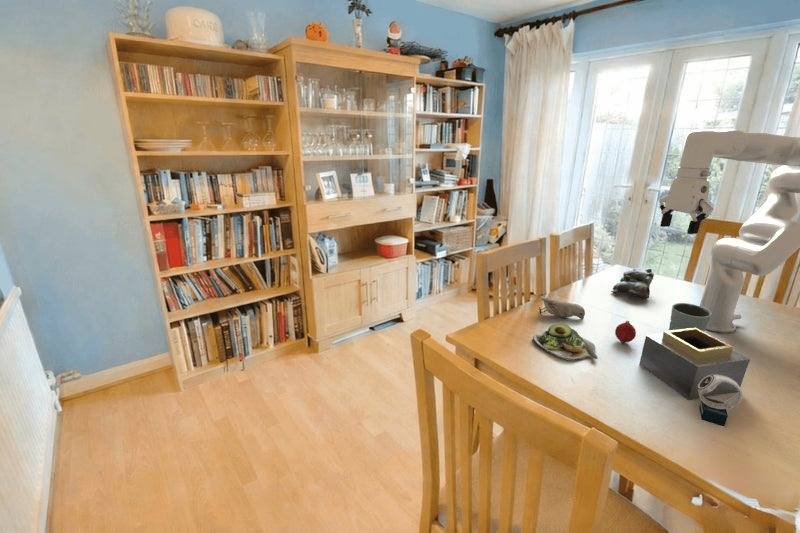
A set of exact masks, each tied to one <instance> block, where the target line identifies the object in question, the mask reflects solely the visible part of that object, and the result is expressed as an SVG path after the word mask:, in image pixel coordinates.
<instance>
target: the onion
mask: <svg viewBox="0 0 800 533" xmlns="http://www.w3.org/2000/svg"><path fill="white" fill-rule="evenodd" d="M614 330H615V331H614V333H615V334H614V335H615V336H616V338H617V339H618V340H619V342H621V343H622V344H625V343H629V342H632V341H634V340H635V339H636V334H637V330H636V328H635V327H634V325H632V324H631V323H630V320H628V319H627V320H625V322H623V323H620V324H618V325H617V326H616V327H615V329H614Z"/></svg>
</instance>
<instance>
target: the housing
mask: <svg viewBox="0 0 800 533" xmlns="http://www.w3.org/2000/svg"><path fill="white" fill-rule="evenodd" d="M750 360H751V359H750V358H748V357H746V356H744V355H742V354H741V353H739V352H737V351H735V350H734V346H733V345H730V344H728V343H727V342H725V341H723V340H720V339H719V338H717V337H715V336H713V335H711V334H709V333H707V332H705V331H704V332H703V331H701V330H699V329H697V328H688V329H680V330H672V331H668V330H665V331H663V332H662V333H652V334H646V335H645V339H644V343H643V347H642V351H641V356H640V359H639V363H638V364H639V366H640V367H641V368H643V369H644V370H645V371H646V372H648V373H649V374H650V375H653V376H654V377H655V378H656V379H658V380H659V381H661V382H662V383H663V384H665V385H666V386H668V387H669V388H670V389H672V390H673V391H675V392H676V393H677V394H679V395H680V396H682V397H683V398H685V399H686V400H687V401H691V400H692V401H693V400H697V399H700V397H699V392H698V389H697V385H698V383H699V381H700V380H701V379H702V378H704V377H705V376H707V375H710V374H713V375H722V376H726V377H729V378H731V379H733V380H734V381H735V382H736V383H737V384H738V385H739V387H740V388H741V386H742V383H743V381H744V378H745V375H746V371H747V369H748V366H749V364H750ZM721 382H722V381H721ZM737 392H739V390H738V389H737V388H736V387H735V386H734V385H732V384H730V383H727V382H722V383H720V384H718V385H717V387H716V388H715V389H714V390H713V391H711V392H709V393H704V394H703V395H702V396H703V397H706V398H709V397H710V398H711V397H716V396H721V395H729V394H734V393H735V394H736V393H737Z"/></svg>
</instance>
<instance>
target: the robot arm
mask: <svg viewBox="0 0 800 533" xmlns="http://www.w3.org/2000/svg"><path fill="white" fill-rule="evenodd" d="M683 142H684V143H683V147H682V151H681V156H680V160H679V163H678V167H677V172H676V177H674V178H673V180H672V183H671V185H670V188H669V191H668V193H667V196H665V197H662V198H660V199H659V200H658V201H659V208H660V209H659V210H661V211H660V212H661V214H662V216H661V221H660V224H659V226H660V227H661V228H664V227H665V228H666V227H667V228H669V227H670V226H671V224H672V219H673V212H674V211H675V212H679V213H685V214H690V217H691V219H692V220H690V221H689V225H688V229H687V232H686V233H687V234H688V235H696V234H699V230H700V226H701V223H702V222H703V221H704V220H706V219H707V218H708V217H709V216H710V214H712V212H713V211H714V207H713V206H712V205H711V204H709V203H708V200H709V196H710V194H709V193H710V184H711V183H710V179H708V178H709V177H710V176H711V175H712V171H710V168H711V165H712V161H713V158H715V159H716V158H717V159H725V160H732V161H737V162H748V163H756V164H765V165H774V166H780V167H778V168H776V169H775V170H774V171H773V172H772V174H771V175H770V177H769V181H768V183H769V184H768V194H767V199H766V200H765V202H764V204H763V205H762V206H761V207H760V208H759V209H757V210H756V211H755V212H754V213H753V214H752V215H751V216H750V217H749V218H748V219H747V220H746V221H745V222H744V223H743V224H742V225H741V227H740V228H739V230H738V236H739V237H740V238H735V237H725V238H720V239H719V240H717V241H715V243H714V244H713V245H712V247H711V250H710V256H709V257H710V259H709V260H710V261H709V263H710V265H709V271H708V275H707V278H706V281H705V286H704V288H703V289H704V290H703V292H702V296H701V298H700V302H699V306H701V307H703V308H705V309H707V310H709V311H710V312H711V313H712V315H711V318H710V320H709V322H708V325H707V327H706V328H705V330H707V331H711V332H717V333H723V334H726V333H727V334H729V333H733V332H735V330H736V325H735V324H734V321H735V320H740V319H742V315H741V314H740V313H735V312H736V308H737V305H738V302H739V298H740V296H741V292H742V288H743V287H744V282H745V279H744V278H745V276H744V273H747V274H750V275H753V276H759V277H762V276H763V277H764V276H767V275H770V274H771V273H773V272H774V271H776V270H777V268H779V267H781V265H782V264H783V263H784V262H785V261H787V260H788V259H789V258H790V257H791V256H792V255H793V254H794V253H796V252H797V250H799V248H800V222H799V221H796V220H793V218H794V217H795V216H797V214H798V212H799V204H798V202H797V200H796V195H795V194H800V137H798V136H786V135H779V134H773V133H767V132H766V133H764V132H746V133H745V132H744V131H743V130H739V129H706V130H702V129H701V130H700V129H699V130H691V131H688V132H687V134H686V135H685V139H684V141H683Z"/></svg>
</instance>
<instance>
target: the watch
mask: <svg viewBox="0 0 800 533" xmlns="http://www.w3.org/2000/svg"><path fill="white" fill-rule="evenodd" d="M721 381H722V382H727V383H730V384H732V385H734V386H735V387H736V388H737V389H738V390H739V392H736V393H735V394H734V395H733V396H732V397H730V398H728V399H727V400H725V401H720V400H717V399H713V398H711V397H710V398H709V397H703V396H702V395H703V394H704V393H709V392H711V391H713V390H714V389H715V388H716V387H717V385H718V384H720V383H722V382H721ZM697 389H698V392H699V397H700V398H699V399H700V403H699V405H698V408H699V415H700V420H701V421H704V422H707V423H711V424H713V425H716V426H719V427H722V428H725V426H726V424H727V421H728V418H729V414H728V410H730V409H732V408H734V407H735V406H737V405H739V403H741V401H742V398H743V393H742V389H741V387H739V385H738V384H737V383H736V382H735V381H734V380H733V379H731V378H729V377H726V376H722V375H713V374H710V375H707V376H705V377H704V378H702V379H701V380H700V381H699V383H698V385H697Z"/></svg>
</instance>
